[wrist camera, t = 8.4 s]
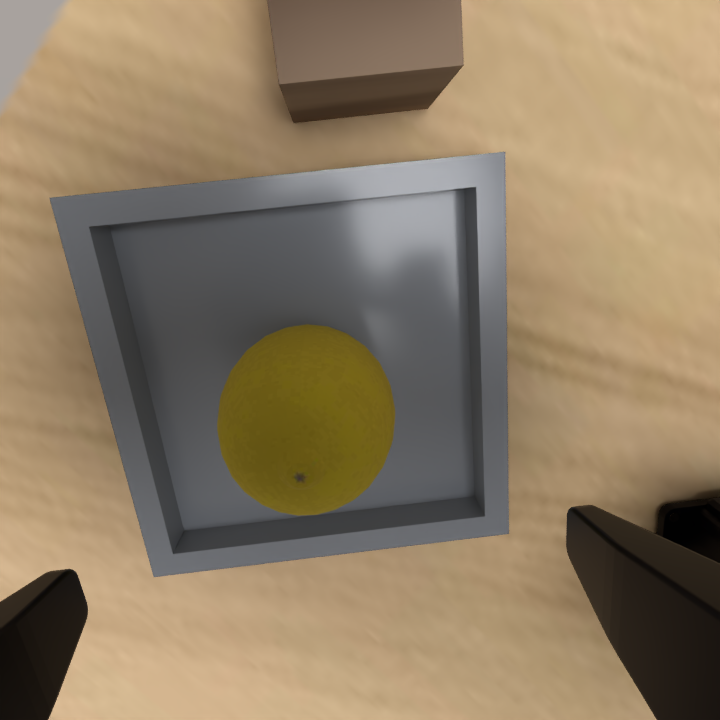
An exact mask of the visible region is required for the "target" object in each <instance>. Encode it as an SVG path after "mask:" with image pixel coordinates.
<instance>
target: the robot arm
mask: <svg viewBox="0 0 720 720" xmlns="http://www.w3.org/2000/svg"><path fill="white" fill-rule="evenodd" d="M672 514H673V515H672ZM671 515H672V516H671ZM566 547H567V553H568V556H569V559H570V561H571V563H572V565H573V567H574V569H575V571H576V573H577V575H578V578H579V580H580V582H581V584H582V586H583V588H584V590H585V592H586V594H587V596H588V598H589V600H590V602H591V605H592V607H593V609H594V611H595V613H596V615H597V617H598V619H599V621H600V623H601V625H602V627H603V629H604V631H605V633H606V635H607V637H608V639H609V641H610V643H611V644H612V646H613V648H614V650H615V651H616V653H617V655H618V656H619V658H620V660H621V661H622V663H623V665H624V666H625V668H626V670H627V671H628V673H629V675H630V676H631V678H632V679H633V681H634V683H635V684H636V686H637V688H638V689H639V691H640V693H641V694H642V696H643V698H644V699H645V701H646V702H647V704H648V706H649V707H650V709H651V711H652V712H653V714H654V716H655V717H656V719H657V720H720V497H719V498H712V499H703V500H695V501H687V502H679V503H670V504H667V505H665V506H663V507H662V508H661V510H660V512H659V518H658V528H657V535H656V534H654V533H652V532H650V531H648V530H646V529H643V528H641V527H639V526H637V525H635V524H633V523H630V522H628V521H626V520H624V519H622V518H619V517H617V516H615V515H613V514H611V513H609V512H606V511H604V510H602V509H600V508H598V507H596V506H593V505H584V506H576V507H571V508H570V509H569V510H568V513H567V535H566ZM87 615H88V606H87V602H86V599H85V596H84V593H83V590H82V587H81V584H80V581H79V578H78V575H77V573H76V572H75V571H74V570H71V569H65V570H56V571H50V572H47V573H45V574H43V575H42V576H40V577H39V578H37V579H36V580H34V581H32V582H31V583H29V584H28V585H26V586H25V587H23V588H21V589H20V590H18V591H17V592H15V593H14V594H12V595H10V596H9V597H7V598H6V599H4V600H3V601H1V602H0V720H48V719H49V717H50V714H51V712H52V709H53V707H54V705H55V702H56V700H57V697H58V695H59V692H60V689H61V687H62V684H63V681H64V679H65V676H66V673H67V671H68V668H69V665H70V663H71V660H72V657H73V655H74V652H75V649H76V647H77V644H78V641H79V639H80V636H81V633H82V631H83V628H84V625H85V623H86V619H87Z"/></svg>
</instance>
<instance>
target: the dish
mask: <svg viewBox="0 0 720 720" xmlns="http://www.w3.org/2000/svg"><path fill="white" fill-rule="evenodd" d="M50 202H51V205H52V209H53V212H54V216H55V220H56V223H57V227H58V231H59V234H60V238H61V242H62V245H63V249H64V252H65V256H66V260H67V263H68V267H69V271H70V274H71V278H72V281H73V285H74V289H75V292H76V296H77V300H78V303H79V307H80V311H81V314H82V318H83V321H84V325H85V329H86V332H87V336H88V340H89V343H90V347H91V350H92V354H93V358H94V361H95V365H96V369H97V372H98V376H99V380H100V383H101V387H102V390H103V394H104V398H105V401H106V405H107V409H108V412H109V416H110V419H111V423H112V427H113V430H114V434H115V438H116V441H117V445H118V449H119V452H120V456H121V459H122V463H123V467H124V470H125V474H126V478H127V481H128V485H129V488H130V492H131V496H132V499H133V503H134V507H135V510H136V514H137V518H138V521H139V525H140V528H141V532H142V536H143V539H144V543H145V547H146V550H147V554H148V558H149V561H150V565H151V568H152V572H153V576H154V577H159V576H167V575H175V574H183V573H192V572H200V571H208V570H216V569H224V568H233V567H241V566H249V565H257V564H265V563H274V562H282V561H290V560H298V559H306V558H315V557H323V556H331V555H339V554H347V553H355V552H364V551H372V550H380V549H388V548H396V547H405V546H413V545H421V544H429V543H437V542H446V541H454V540H462V539H470V538H478V537H487V536H495V535H503V534H509V501H508V395H507V290H506V185H505V152H499V153H489V154H479V155H469V156H459V157H449V158H439V159H429V160H420V161H410V162H400V163H390V164H380V165H370V166H360V167H350V168H341V169H331V170H321V171H311V172H301V173H291V174H281V175H271V176H262V177H252V178H242V179H232V180H222V181H212V182H202V183H192V184H183V185H173V186H163V187H153V188H143V189H133V190H123V191H113V192H104V193H94V194H84V195H74V196H64V197H54V198H50ZM306 324H310V325H320V326H328V327H331V328H334V329H336V330H339V331H342V332H344V333H347V334H348V335H350V336H351V337H353V338H354V339H356V340H357V341H359V342H360V343H362V344H363V345H365V346H366V348H367V349H368V350H369V351H370V352H371V353H372V354H373V356H374V357H375V358H376V359H377V360H378V361H379V363H380V364H381V366H382V368H383V370H384V372H385V375H386V377H387V379H388V381H389V383H390V385H391V390H392V395H393V401H394V406H395V424H394V436H393V441H392V445H391V447H390V450H389V453H388V455H387V458H386V461H385V463H384V466H383V468H382V469H381V471H380V472H379V474H378V475H377V476H376V478H375V479H374V481H373V482H372V484H371V485H370V486H369V487H368V488H367V489H366V490H365V491H364V492H363V493H362V494H360V495H359V496H358V497H357V498H356V499H355V500H353V501H351V502H349V503H347V504H345V505H343V506H341V507H340V508H338V509H336V510H333V511H329V512H325V513H321V514H318V515H300V516H297V515H292V514H286V513H281V512H278V511H275V510H273V509H271V508H268V507H266V506H264V505H262V504H260V503H259V502H257V501H256V500H255V499H253V498H252V497H251V496H249V495H248V494H246V493H245V492H244V491H243V490H242V488H241V487H240V486H239V485H238V484H237V482H236V481H235V480H234V479H233V478H232V476H231V474H230V472H229V470H228V467H227V465H226V463H225V461H224V459H223V457H222V454H221V449H220V443H219V437H218V431H217V421H218V412H219V403H220V397H221V394H222V391H223V389H224V386H225V384H226V381H227V379H228V376H229V374H230V372H231V370H232V369H233V367H234V366H235V365H236V364H237V362H238V361H239V360H240V358H241V357H242V356H243V355H244V353H245V352H246V351H247V350H248V349H249V348H251V347H252V346H253V345H254V344H256V343H257V342H258V341H260V340H261V339H262V338H264V337H265V336H267V335H269V334H271V333H274V332H276V331H279V330H281V329H284V328H286V327H292V326H299V325H306Z"/></svg>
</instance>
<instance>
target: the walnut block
mask: <svg viewBox="0 0 720 720" xmlns="http://www.w3.org/2000/svg"><path fill="white" fill-rule="evenodd" d="M267 1H268V8H269V16H270V23H271V30H272V37H273V44H274V52H275V59H276V66H277V73H278V80H279V86H280V88H281V91H282V93H283V96H284V99H285V101H286V104H287V107H288V109H289V112H290V114H291V117H292V120H293V122H294V123H298V122H307V121H317V120H326V119H335V118H345V117H354V116H364V115H373V114H382V113H392V112H401V111H410V110H420V109H428V108H429V106H430V105H431V104H432V103H433V102H434V100H435V99H436V98H437V97H438V96H439V94H440V93H441V92H442V91H443V90H444V88H445V87H446V86H447V85H448V83H449V82H450V81H451V80H452V79H453V77H454V76H455V75H456V74H457V73H458V71H459V70H460V69H461V68H462V66H463V65H464V64H463V37H462V11H461V0H267Z"/></svg>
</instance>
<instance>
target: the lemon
mask: <svg viewBox="0 0 720 720" xmlns="http://www.w3.org/2000/svg"><path fill="white" fill-rule="evenodd" d="M394 424H395V406H394V401H393V395H392V390H391V385H390V383H389V381H388V379H387V377H386V375H385V372H384V370H383V368H382V366H381V364H380V363H379V361H378V360H377V359H376V358H375V357H374V356H373V354H372V353H371V352H370V351H369V350H368V349H367V348H366V346H365V345H363V344H362V343H360V342H359V341H357V340H356V339H354V338H353V337H351V336H350V335H348V334H347V333H344V332H342V331H339V330H336V329H334V328H331V327H328V326H320V325H310V324H306V325H299V326H292V327H286V328H284V329H281V330H279V331H276V332H274V333H271V334H269V335H267V336H265V337H264V338H262V339H261V340H260V341H258V342H257V343H256V344H254V345H253V346H252V347H251V348H249V349H248V350H247V351H246V352H245V353H244V355H243V356H242V357H241V358H240V360H239V361H238V362H237V364H236V365H235V366H234V367H233V369H232V370H231V372H230V374H229V376H228V379H227V381H226V384H225V386H224V389H223V391H222V394H221V397H220V403H219V412H218V421H217V431H218V437H219V443H220V449H221V454H222V457H223V459H224V461H225V463H226V465H227V467H228V470H229V472H230V474H231V476H232V478H233V479H234V480H235V481H236V482H237V484H238V485H239V486H240V487H241V488H242V490H243V491H244V492H245V493H246V494H248V495H249V496H251V497H252V498H253V499H255V500H256V501H257V502H259V503H260V504H262V505H264V506H266V507H268V508H271V509H273V510H275V511H278V512H281V513H286V514H292V515H297V516H300V515H318V514H321V513H325V512H329V511H333V510H336V509H338V508H340V507H341V506H343V505H345V504H347V503H349V502H351V501H353V500H355V499H356V498H357V497H358V496H359V495H360V494H362V493H363V492H364V491H365V490H366V489H367V488H368V487H369V486H370V485H371V484H372V482H373V481H374V479H375V478H376V476H377V475H378V474H379V472H380V471H381V469H382V468H383V466H384V463H385V461H386V458H387V455H388V453H389V450H390V447H391V445H392V441H393V436H394Z"/></svg>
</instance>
